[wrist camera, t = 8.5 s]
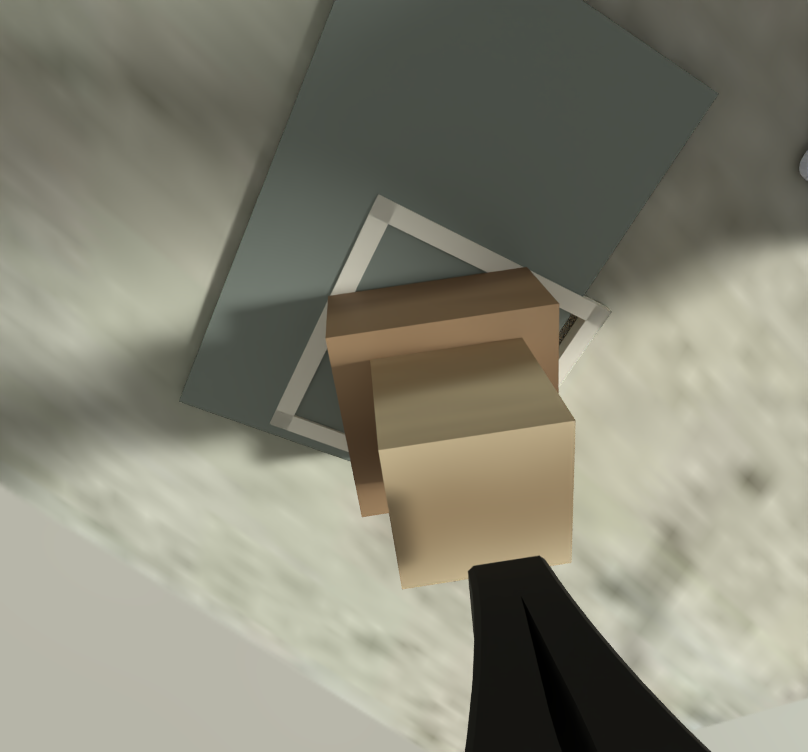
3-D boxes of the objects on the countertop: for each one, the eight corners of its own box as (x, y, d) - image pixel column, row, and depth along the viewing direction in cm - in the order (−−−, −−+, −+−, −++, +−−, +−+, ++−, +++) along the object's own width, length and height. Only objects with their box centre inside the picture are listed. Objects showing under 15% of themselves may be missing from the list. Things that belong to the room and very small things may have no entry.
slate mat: (385, -129, 13) (387, -135, 13) (739, 112, 16) (750, 113, 16) (181, 395, 19) (178, 403, 19) (472, 498, 22) (475, 506, 22)
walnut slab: (327, 295, 17) (325, 338, 15) (527, 267, 18) (559, 303, 15) (359, 457, 20) (361, 517, 18) (529, 431, 20) (557, 486, 18)
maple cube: (370, 359, 15) (378, 450, 12) (522, 337, 15) (575, 420, 12) (389, 480, 17) (402, 589, 14) (524, 460, 17) (571, 562, 14)
